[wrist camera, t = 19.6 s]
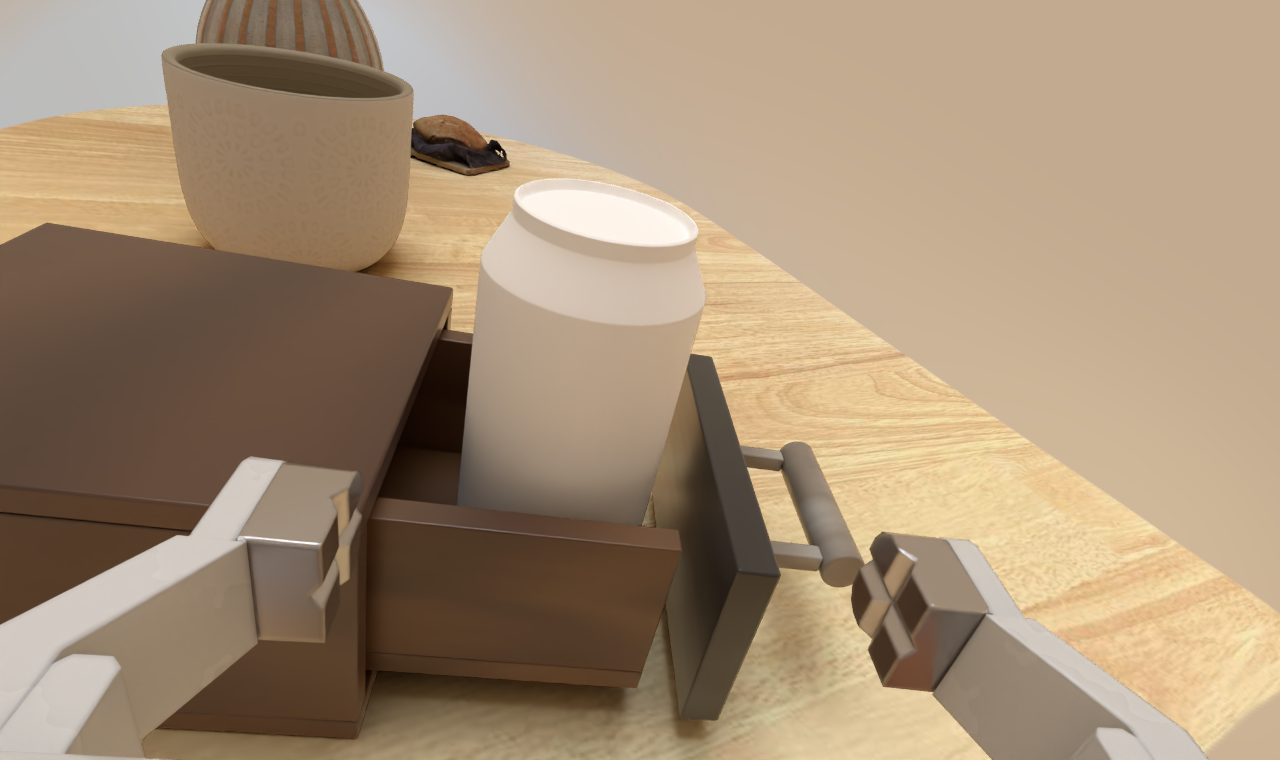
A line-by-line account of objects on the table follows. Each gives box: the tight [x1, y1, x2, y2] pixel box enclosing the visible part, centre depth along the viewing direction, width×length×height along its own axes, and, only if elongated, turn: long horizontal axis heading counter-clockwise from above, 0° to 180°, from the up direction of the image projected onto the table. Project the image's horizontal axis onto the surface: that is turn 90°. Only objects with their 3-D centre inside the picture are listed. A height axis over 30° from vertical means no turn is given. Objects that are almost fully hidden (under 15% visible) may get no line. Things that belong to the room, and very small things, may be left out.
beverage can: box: [457, 179, 706, 526], centre depth 21 cm, size 6×6×12 cm
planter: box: [162, 43, 413, 272], centre depth 41 cm, size 12×12×11 cm
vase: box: [196, 0, 384, 71], centre depth 53 cm, size 13×13×18 cm
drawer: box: [365, 329, 865, 721], centre depth 23 cm, size 17×11×6 cm
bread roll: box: [411, 115, 510, 175], centre depth 68 cm, size 11×8×4 cm
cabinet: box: [0, 223, 453, 738], centre depth 21 cm, size 14×13×8 cm
